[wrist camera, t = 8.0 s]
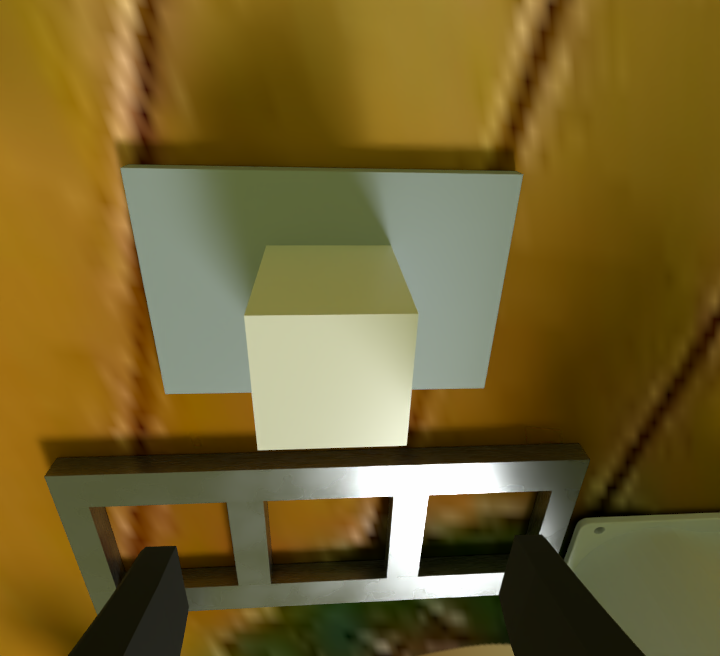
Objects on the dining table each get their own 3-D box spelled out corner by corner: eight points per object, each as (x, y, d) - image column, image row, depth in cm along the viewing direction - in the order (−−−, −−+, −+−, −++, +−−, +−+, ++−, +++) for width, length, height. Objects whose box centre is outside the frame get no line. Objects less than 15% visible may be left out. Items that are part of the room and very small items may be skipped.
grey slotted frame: (578, 443, 21) (590, 459, 20) (537, 574, 25) (545, 592, 24) (56, 458, 19) (44, 476, 18) (106, 595, 24) (97, 615, 23)
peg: (391, 245, 16) (418, 313, 11) (385, 351, 17) (406, 445, 13) (266, 245, 15) (244, 315, 11) (274, 353, 17) (257, 450, 13)
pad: (516, 170, 15) (523, 174, 15) (479, 379, 19) (483, 387, 18) (127, 164, 14) (120, 167, 14) (170, 384, 18) (165, 394, 18)
